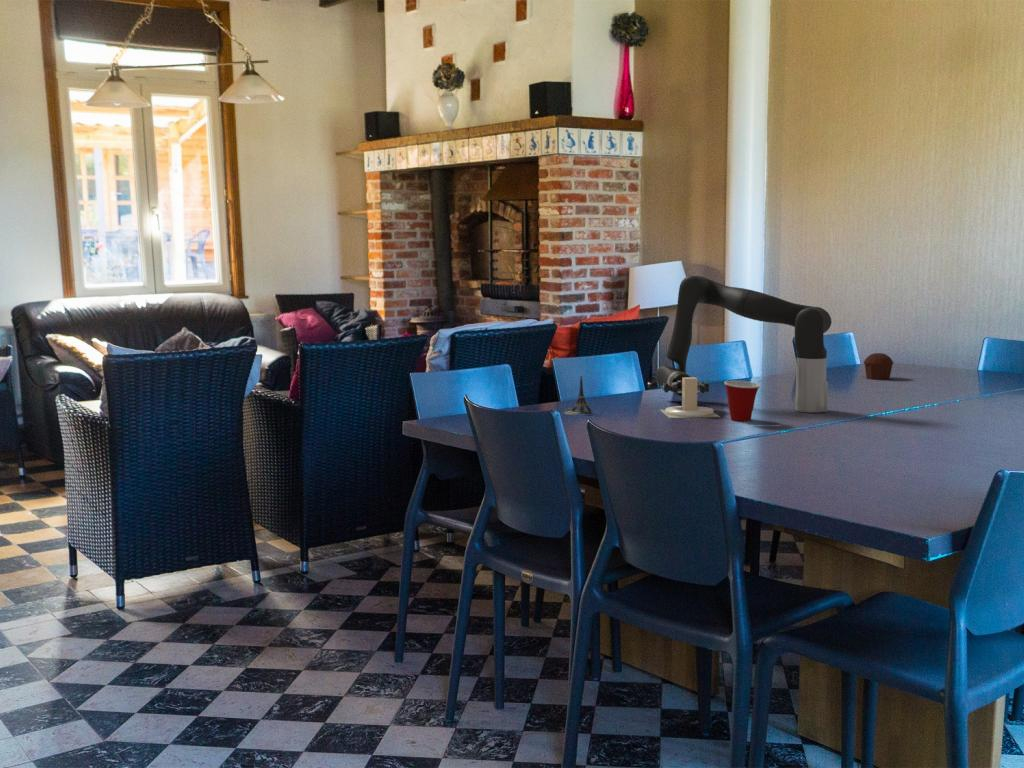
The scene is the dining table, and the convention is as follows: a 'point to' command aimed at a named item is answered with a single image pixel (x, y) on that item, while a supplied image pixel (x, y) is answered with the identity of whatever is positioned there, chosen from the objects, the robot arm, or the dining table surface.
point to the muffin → (878, 366)
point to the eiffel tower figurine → (579, 403)
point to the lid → (689, 401)
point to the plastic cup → (741, 399)
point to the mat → (687, 417)
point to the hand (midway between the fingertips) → (690, 390)
